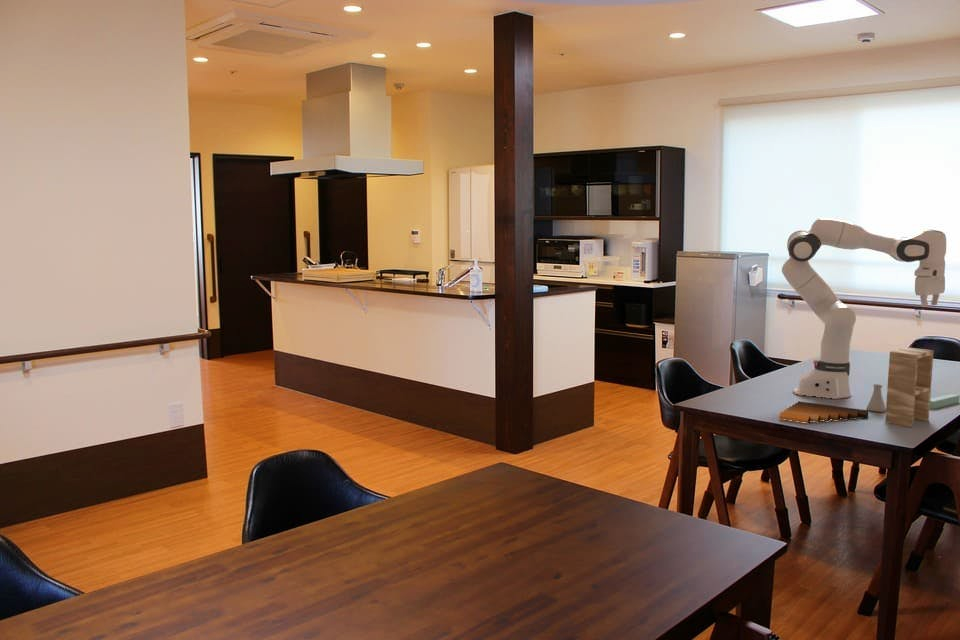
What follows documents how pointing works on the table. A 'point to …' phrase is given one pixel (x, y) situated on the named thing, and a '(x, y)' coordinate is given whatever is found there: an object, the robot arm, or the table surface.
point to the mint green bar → (944, 400)
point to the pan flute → (820, 412)
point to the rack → (909, 386)
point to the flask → (876, 400)
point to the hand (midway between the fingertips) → (929, 305)
